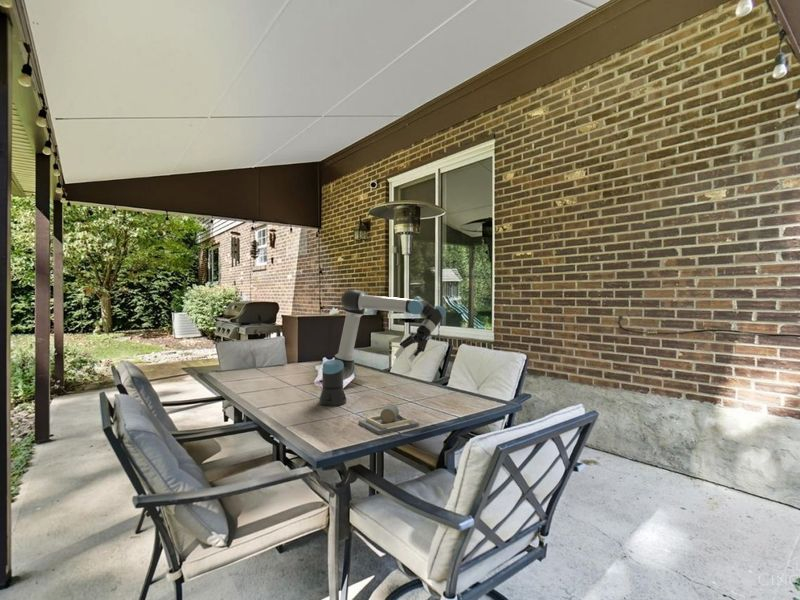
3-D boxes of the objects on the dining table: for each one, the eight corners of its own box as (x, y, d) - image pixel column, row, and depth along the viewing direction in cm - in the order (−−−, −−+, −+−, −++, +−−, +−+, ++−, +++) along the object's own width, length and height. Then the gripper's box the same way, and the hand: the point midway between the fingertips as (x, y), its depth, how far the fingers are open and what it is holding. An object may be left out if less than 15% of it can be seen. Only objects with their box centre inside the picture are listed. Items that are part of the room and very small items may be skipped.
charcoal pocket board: (358, 424, 201) (358, 417, 201) (396, 416, 213) (396, 410, 213) (378, 434, 186) (378, 427, 186) (418, 426, 198) (418, 419, 198)
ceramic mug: (379, 423, 196) (379, 407, 196) (383, 418, 204) (383, 402, 204) (402, 425, 194) (402, 408, 194) (404, 420, 202) (405, 404, 202)
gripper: (444, 335, 225) (420, 366, 217) (416, 331, 246) (394, 359, 238) (436, 326, 222) (412, 356, 214) (409, 322, 243) (386, 350, 234)
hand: (402, 358), depth 226 cm, fingers open, 13 cm apart
